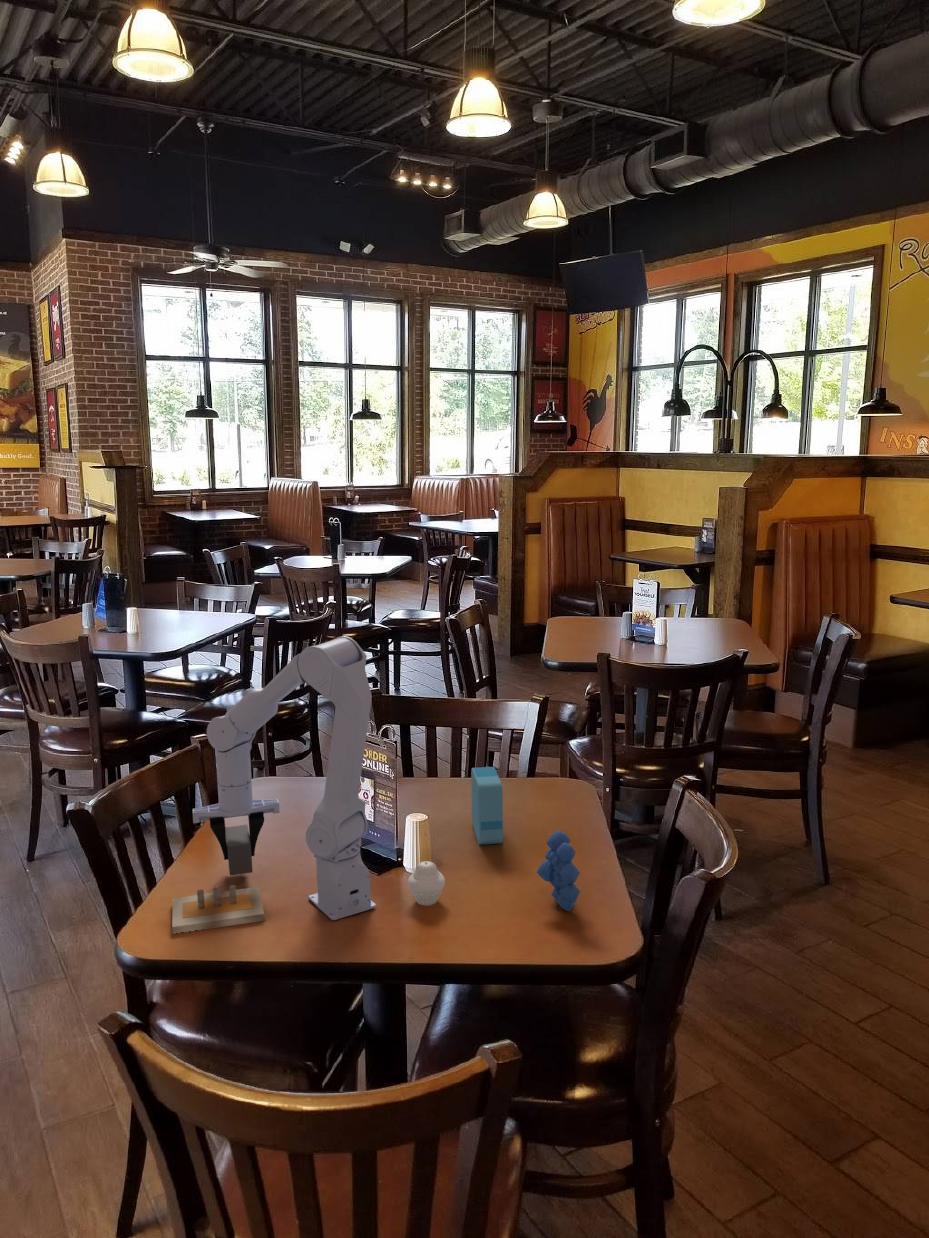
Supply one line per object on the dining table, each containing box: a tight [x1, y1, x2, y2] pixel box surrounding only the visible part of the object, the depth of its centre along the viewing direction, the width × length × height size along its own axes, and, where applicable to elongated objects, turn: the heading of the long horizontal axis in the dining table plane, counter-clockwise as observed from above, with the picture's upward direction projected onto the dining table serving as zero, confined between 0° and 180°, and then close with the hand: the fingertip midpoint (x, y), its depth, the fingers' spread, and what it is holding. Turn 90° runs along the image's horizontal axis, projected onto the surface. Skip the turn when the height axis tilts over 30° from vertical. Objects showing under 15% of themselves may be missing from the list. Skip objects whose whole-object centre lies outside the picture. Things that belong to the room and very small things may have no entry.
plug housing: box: [225, 824, 253, 876], centre depth 166 cm, size 9×4×5 cm, turn 17°
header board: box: [171, 884, 265, 935], centre depth 154 cm, size 14×10×4 cm
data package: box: [470, 766, 504, 845], centre depth 183 cm, size 12×4×12 cm, turn 6°
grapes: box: [536, 830, 581, 911], centre depth 155 cm, size 12×7×12 cm, turn 11°
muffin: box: [407, 860, 446, 907], centre depth 157 cm, size 6×6×7 cm
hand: (239, 855), depth 166 cm, fingers closed on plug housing, 4 cm apart
